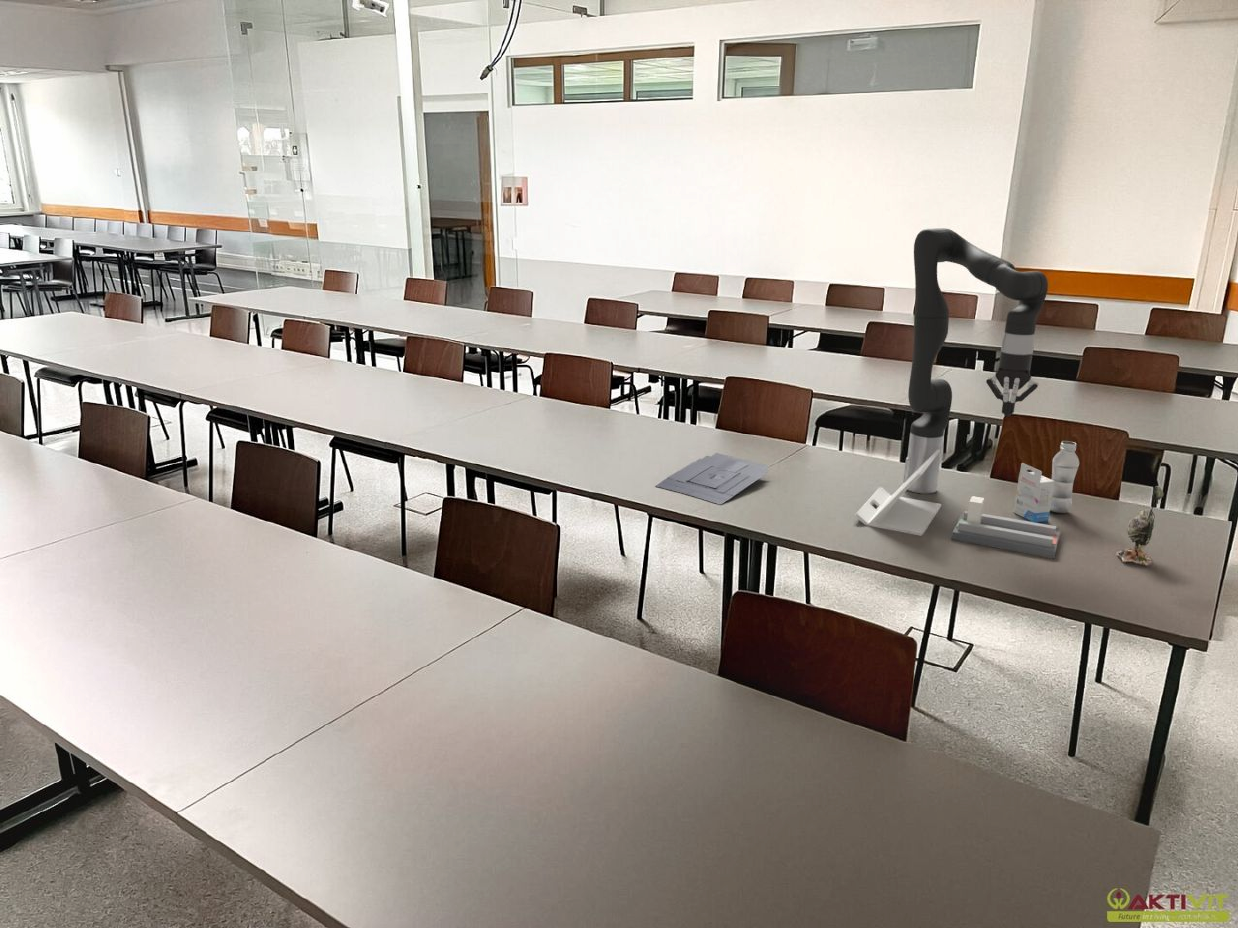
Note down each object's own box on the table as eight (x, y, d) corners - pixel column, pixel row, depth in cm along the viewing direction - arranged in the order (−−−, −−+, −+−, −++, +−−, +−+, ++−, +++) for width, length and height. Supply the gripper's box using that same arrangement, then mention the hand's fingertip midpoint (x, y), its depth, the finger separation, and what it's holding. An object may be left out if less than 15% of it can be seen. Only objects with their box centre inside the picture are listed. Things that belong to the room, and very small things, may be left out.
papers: (776, 475, 268) (776, 464, 267) (721, 513, 248) (721, 502, 247) (711, 459, 283) (711, 449, 282) (654, 494, 263) (654, 483, 262)
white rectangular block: (965, 526, 226) (969, 501, 224) (968, 520, 230) (972, 496, 228) (978, 528, 225) (981, 503, 223) (980, 523, 229) (984, 498, 226)
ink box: (1049, 521, 236) (1057, 470, 231) (1033, 523, 234) (1041, 471, 230) (1027, 510, 243) (1035, 460, 239) (1012, 512, 242) (1020, 462, 238)
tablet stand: (941, 506, 247) (948, 449, 242) (922, 536, 226) (929, 474, 221) (877, 495, 256) (882, 440, 250) (853, 523, 235) (858, 463, 230)
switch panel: (951, 539, 224) (953, 524, 223) (961, 521, 236) (962, 507, 235) (1054, 558, 213) (1056, 543, 212) (1058, 538, 224) (1061, 524, 223)
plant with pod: (1156, 554, 215) (1172, 478, 209) (1149, 570, 207) (1166, 491, 200) (1119, 546, 220) (1134, 472, 213) (1111, 561, 211) (1126, 484, 205)
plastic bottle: (1047, 505, 247) (1058, 438, 241) (1073, 511, 243) (1085, 442, 237) (1040, 511, 242) (1052, 443, 236) (1067, 517, 238) (1079, 448, 232)
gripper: (987, 350, 224) (978, 415, 229) (1043, 355, 217) (1033, 422, 223) (991, 345, 230) (982, 409, 235) (1046, 350, 224) (1036, 415, 229)
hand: (1007, 415), depth 229 cm, fingers closed
